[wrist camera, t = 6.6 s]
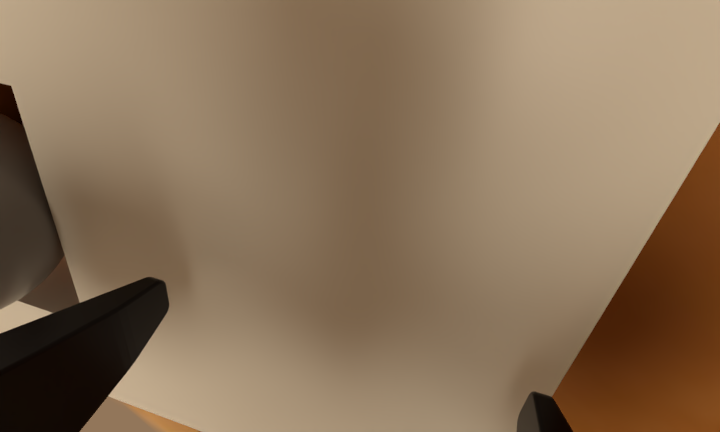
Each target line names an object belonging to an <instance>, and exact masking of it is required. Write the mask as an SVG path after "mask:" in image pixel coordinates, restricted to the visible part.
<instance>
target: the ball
mask: <svg viewBox="0 0 720 432" xmlns="http://www.w3.org/2000/svg"><path fill="white" fill-rule="evenodd" d="M63 256H64V251H63V248H62V245H61V242H60V239H59V236H58V232H57V229H56V226H55V223H54V220H53V217H52V213H51V210H50V207H49V204H48V201H47V198H46V194H45V191H44V188H43V185H42V182H41V179H40V175H39V172H38V169H37V166H36V163H35V160H34V156H33V153H32V150H31V147H30V144H29V141H28V137H27V134H26V131H25V128H24V126H23V125H21V124H20V123H18V122H16V121H15V120H13V119H11V118H9V117H7V116H5V115H3V114H1V113H0V309H3V308H5V307H6V306H8V305H10V304H12V303H14V302H16V301H17V300H19V299H21V298H22V297H24V296H25V295H27V294H28V293H30V292H31V291H32V290H33V289H35V288H36V287H37V286H39V285H40V284H41V283H42V282H43V281H44V280H45V279H46V278H47V277H48V276H49V275H50V274H51V273H52V272H53V271H54V269H55V268H56V267H57V266H58V264H59V263H60V261H61V260H62V258H63Z"/></svg>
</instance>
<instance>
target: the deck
mask: <svg viewBox="0 0 720 432" xmlns="http://www.w3.org/2000/svg"><path fill="white" fill-rule="evenodd" d="M0 83H2V84H6V85H10V86H11V87H12V90H13V93H14V96H15V99H16V103H17V106H18V109H19V112H20V115H21V118H22V122H23V125H24V128H25V131H26V134H27V137H28V141H29V144H30V147H31V150H32V153H33V156H34V160H35V163H36V166H37V169H38V172H39V175H40V179H41V182H42V185H43V188H44V191H45V194H46V198H47V201H48V204H49V207H50V210H51V213H52V217H53V220H54V223H55V226H56V229H57V232H58V236H59V239H60V242H61V245H62V248H63V251H64V255H65V256H63V258H62V260H61V261H60V263H59V264H58V266H57V267H56V268H55V269H54V271H53V272H52V273H51V274H50V275H49V276H48V277H47V278H46V279H45V280H44V281H43V282H42V283H41V284H40V285H39V286H37V287H36V288H35V289H33V290H32V291H31V292H30V293H28V294H27V295H25V296H24V297H22V298H21V299H19V300H17V301H16V302H14V303H12V304H10V305H8V306H6V307H5V308H3V309H0V333H3V332H5V331H8V330H10V329H13V328H16V327H18V326H21V325H23V324H26V323H29V322H31V321H34V320H36V319H39V318H42V317H44V316H47V315H49V314H52V313H55V312H57V311H60V310H62V309H65V308H68V307H70V306H73V305H75V304H78V303H81V302H83V301H86V300H88V299H91V298H94V297H96V296H99V295H101V294H104V293H107V292H109V291H112V290H114V289H117V288H120V287H122V286H125V285H127V284H130V283H133V282H135V281H138V280H140V279H143V278H146V277H154V278H157V279H160V280H163V281H164V282H165V283H166V287H167V293H168V298H169V309H168V312H167V314H166V315H165V317H164V319H163V320H162V322H161V323H160V325H159V326H158V328H157V329H156V331H155V332H154V334H153V335H152V337H151V338H150V340H149V341H148V343H147V344H146V346H145V348H144V349H143V351H142V352H141V354H140V355H139V357H138V358H137V359H136V361H135V362H134V364H133V365H132V366H131V368H130V369H129V370H128V372H127V373H126V374H125V376H124V377H123V378H122V379H121V381H120V382H119V383H118V384H117V385H116V387H115V388H114V389H113V390H112V392H111V393H110V394H109V395H108V396H109V397H111V398H114V399H117V400H119V401H122V402H125V403H127V404H130V405H133V406H135V407H138V408H141V409H143V410H146V411H149V412H151V413H154V414H156V415H159V416H162V417H164V418H167V419H170V420H172V421H175V422H178V423H180V424H183V425H186V426H188V427H191V428H194V429H196V430H199V431H202V432H517V420H518V416H519V413H520V411H521V409H522V407H523V405H524V403H525V401H526V399H527V397H528V395H529V394H530V393H531V392H532V391H536V392H539V393H542V394H546V395H549V396H551V397H552V396H553V394H554V392H555V391H556V389H557V387H558V386H559V384H560V383H561V381H562V379H563V378H564V376H565V374H566V373H567V371H568V369H569V368H570V366H571V365H572V363H573V361H574V360H575V358H576V356H577V355H578V353H579V351H580V350H581V348H582V347H583V345H584V343H585V342H586V340H587V338H588V337H589V335H590V334H591V332H592V330H593V329H594V327H595V325H596V324H597V322H598V320H599V319H600V317H601V316H602V314H603V312H604V311H605V309H606V307H607V306H608V304H609V302H610V301H611V299H612V298H613V296H614V294H615V293H616V291H617V289H618V288H619V286H620V284H621V283H622V281H623V280H624V278H625V276H626V275H627V273H628V271H629V270H630V268H631V266H632V265H633V263H634V262H635V260H636V258H637V257H638V255H639V253H640V252H641V250H642V249H643V247H644V245H645V244H646V242H647V240H648V239H649V237H650V235H651V234H652V232H653V231H654V229H655V227H656V226H657V224H658V222H659V221H660V219H661V217H662V216H663V214H664V213H665V211H666V209H667V208H668V206H669V204H670V203H671V201H672V199H673V198H674V196H675V195H676V193H677V191H678V190H679V188H680V186H681V185H682V183H683V181H684V180H685V178H686V177H687V175H688V173H689V172H690V170H691V168H692V167H693V165H694V164H695V162H696V160H697V159H698V157H699V155H700V154H701V152H702V150H703V149H704V147H705V146H706V144H707V142H708V141H709V139H710V137H711V136H712V134H713V132H714V131H715V129H716V128H717V126H718V124H719V123H720V0H0Z"/></svg>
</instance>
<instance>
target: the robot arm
mask: <svg viewBox="0 0 720 432" xmlns="http://www.w3.org/2000/svg"><path fill="white" fill-rule="evenodd" d="M168 309H169V298H168V293H167V287H166V283H165V282H164V281H163V280H160V279H157V278H154V277H146V278H143V279H140V280H138V281H135V282H133V283H130V284H127V285H125V286H122V287H120V288H117V289H114V290H112V291H109V292H107V293H104V294H101V295H99V296H96V297H94V298H91V299H88V300H86V301H83V302H81V303H78V304H75V305H73V306H70V307H68V308H65V309H62V310H60V311H57V312H55V313H52V314H49V315H47V316H44V317H42V318H39V319H36V320H34V321H31V322H29V323H26V324H23V325H21V326H18V327H16V328H13V329H10V330H8V331H5V332H3V333H0V432H80V430H81V429H82V428H83V426H84V425H85V424H86V423H87V422H88V420H89V419H90V418H91V417H92V415H93V414H94V413H95V412H96V410H97V409H98V408H99V407H100V405H101V404H102V403H103V402H104V400H105V399H106V398H107V397H108V395H109V394H110V393H111V392H112V390H113V389H114V388H115V387H116V385H117V384H118V383H119V382H120V381H121V379H122V378H123V377H124V376H125V374H126V373H127V372H128V370H129V369H130V368H131V366H132V365H133V364H134V362H135V361H136V359H137V358H138V357H139V355H140V354H141V352H142V351H143V349H144V348H145V346H146V344H147V343H148V341H149V340H150V338H151V337H152V335H153V334H154V332H155V331H156V329H157V328H158V326H159V325H160V323H161V322H162V320H163V319H164V317H165V315H166V314H167V312H168ZM517 432H573V430H572V429H571V427H570V425H569V424H568V422H567V421H566V419H565V417H564V416H563V414H562V412H561V411H560V409H559V407H558V406H557V404H556V402H555V401H554V399H553V398H552V397H551V396H549V395H546V394H542V393H539V392H536V391H532V392H531V393H530V394H529V395H528V397H527V399H526V401H525V403H524V405H523V407H522V409H521V411H520V413H519V416H518V420H517Z"/></svg>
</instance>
